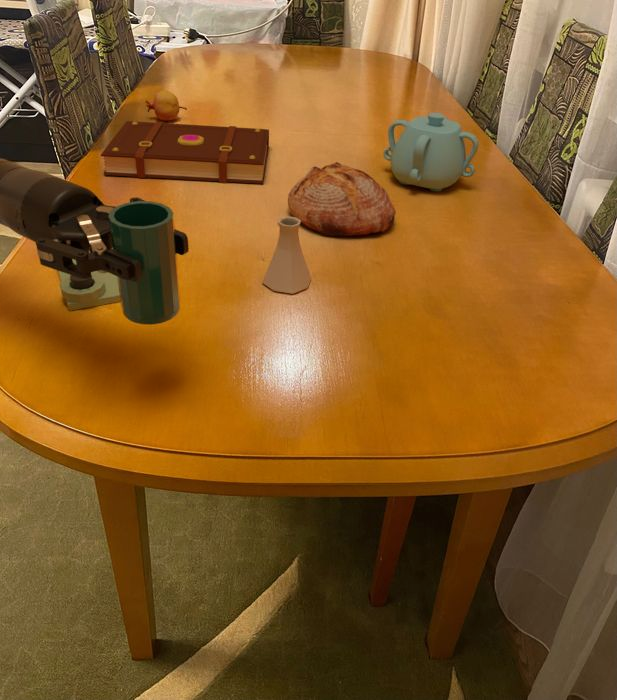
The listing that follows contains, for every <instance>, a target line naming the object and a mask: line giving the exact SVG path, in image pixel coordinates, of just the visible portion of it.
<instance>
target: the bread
mask: <svg viewBox="0 0 617 700" xmlns="http://www.w3.org/2000/svg"><path fill="white" fill-rule="evenodd" d="M387 192H388V191H386V189H385V188H383V187H382V186H381V185H380V184H379V183H378V182H377V181H376V180H375V179H374V178H373V177H371V176H370V175H369V174H368V173H366V172H365V171H363V170H361V169H358V168H353V167H351V166H348V165H345V164H341V163H340V162H338V161H335V162H333V163H330V164H327V165H324V166H323V167H321V168H320V167H318V166H313V167H311V168H310V170H309V171H308V172H307V173H306V174H305V176H304V177H303V178H301V179H300V180H298V181H297V182H296V184H295V185H294V186H293V187H292V188H291V189H290V191H289V193H288V194H287V195H288V196H287V207H288V211H289V213H290V214H291V215H292V217H295V218H297V219H299V220H301V224H303V225H305V226H306V227H307V228H309V229H311V230H313V231H316V232H318V233H319V234H322V235H323V236H325V237H333V236H335V237H352V236H359V237H360V236H362V235H369V234H372V233H380V232H381V233H383V232H385V231H386V230H387V229H389V228H391V226H392V225H394V222H395V215H396V209H395V207H394V205H393V203H392V202H391V199H390V196H389V194H388V193H387Z"/></svg>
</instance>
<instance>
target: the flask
mask: <svg viewBox="0 0 617 700" xmlns="http://www.w3.org/2000/svg"><path fill="white" fill-rule="evenodd" d="M301 224H302V222H301V220H299V219H297V218H295V217H294V216H289V215H286V216H282V217H280V218H279V219H278V221H277V226H278V227H279V233H278V234H279V235H278V239H277V244H276V247H275V250H274V253H273V255H272V257H271V260H270V261H269V264H268V267H267V270H266V271H265V274H264V276H263V279H262V281H261V284H263V285H265V286H266V287H268V288H269V289H271V290H272V291H274V292H279V293H285V294H291V295H292V294H293V295H294V294H295V293H299V292H301V291H303V290H305V289H308V288H309V285H310V282H311V280H312V276H311V272H310V270H309V267H308V265H307V262H306V260H305V257H304V253H303V250H302V247H301V243H300V236H299V235H300V234H299V227H300V226H301Z"/></svg>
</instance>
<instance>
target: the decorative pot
mask: <svg viewBox="0 0 617 700" xmlns="http://www.w3.org/2000/svg"><path fill="white" fill-rule="evenodd" d="M396 126H397V127H398V126H402V127H404V129H403V130H402V132H401V134H400V135H399V137H398V139H397V141H396V139H395V128H396ZM387 137H388V143H389V146H388V147H386V148H384V150H383V158H384V159H385V160H386V161H388V162H390V169H391V172H392V174H393V176H394V178H395V179H396V180H397V181H399V183H400V184H401V185H406V186H407V185H408V186H409V185H412V186H416V187H421V188H425V189H429V191H432V192H441V191H442V190H443V189H446V188H448V187H450V186H452V185H454V184H455V183H456V182H457V181H458V180H459V179H461V177H463V178H471V177H472V176H474V175H475V172H476V168H475V167H476V166H475V165H473V164H471V162H472V160H473V159H474V157H475V155H476V153H477V151H478V150H479V140H478V138H477V136H476V135H474V134H473V133H472V132H469V131H463V130H462V127H461V125H460V123H459V122H457V121H454V120H451V119H450V120H449V118H447V117H445V115H444V114H443V113H440V112H429V113H428V114H427V116H426V115H425V116H418V117H415V118H413V119H411V120H410V121H408V120H405V119H397V120H395V121H393V122H392V123H390V125H389V127H388V131H387ZM465 139H469V140H470V141H471V143H472V147H471V149H470V150H471V151H470V152H469V154H468V156H467V152H466V151H467V150H466V144H465V143H466V142H465ZM389 152H390V154H389ZM467 168H468V169H470V171H468V170H467Z"/></svg>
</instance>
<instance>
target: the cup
mask: <svg viewBox="0 0 617 700" xmlns="http://www.w3.org/2000/svg"><path fill="white" fill-rule="evenodd" d="M108 217H109V224H110V231H111V238H112V245H113V249H114V250H117V251H119V252H121V253H123V254H126V255H128V256H131V257H133V258H135V259H137V260H138V261H139V262H140V264H141V271H142V279H140V280H138V281H137V282H133V281H131V280H125V279H122V278H120V277H117V279H118V286H119V293H120V300H121V302H120V307H121V311H122V314H123V316H124V317H125V318H126V319H127V321H130V322H133V323H135V324H138V325H146V326H149V325H158V324H163V323H165V322H168V321H171V320H172V319H173V318H175V317H176V316H177V315H179V312H180V310H181V303H180V302H181V298H180V281H179V271H178V270H179V269H178V256H177V255H178V254H177V253H176V241H175V214H174V211H173V209H171V207H169V206H168V205H165V204H164V203H162V202H156V201H151V200H148V201H147V200H144V201H136V202H130V201H129V202H125V203H122V204H119V205H117V206H116V207H115V208H114V209H112V210H111V211H110V213H109V216H108Z"/></svg>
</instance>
